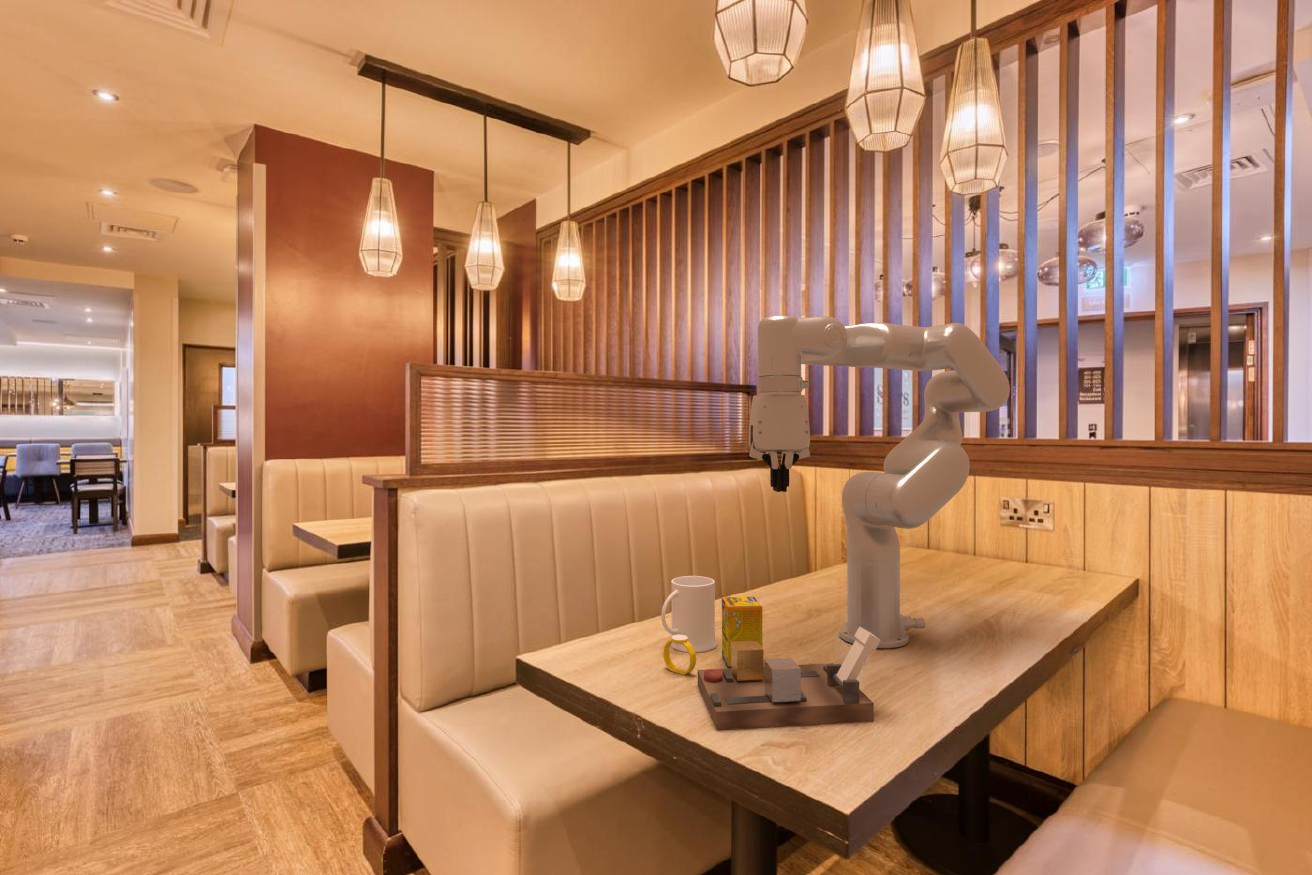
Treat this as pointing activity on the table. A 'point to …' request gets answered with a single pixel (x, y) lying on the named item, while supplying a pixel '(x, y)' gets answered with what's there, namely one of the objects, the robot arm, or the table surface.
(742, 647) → the brass knob
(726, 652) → the supplement box
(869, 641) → the pale pink t-block
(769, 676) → the grey knob
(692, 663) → the watch
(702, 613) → the mug
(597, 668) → the table surface
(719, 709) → the console
